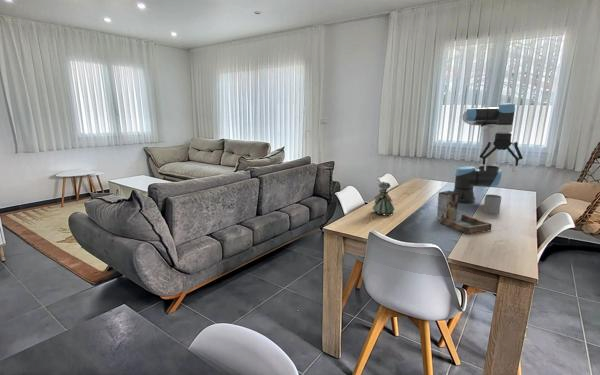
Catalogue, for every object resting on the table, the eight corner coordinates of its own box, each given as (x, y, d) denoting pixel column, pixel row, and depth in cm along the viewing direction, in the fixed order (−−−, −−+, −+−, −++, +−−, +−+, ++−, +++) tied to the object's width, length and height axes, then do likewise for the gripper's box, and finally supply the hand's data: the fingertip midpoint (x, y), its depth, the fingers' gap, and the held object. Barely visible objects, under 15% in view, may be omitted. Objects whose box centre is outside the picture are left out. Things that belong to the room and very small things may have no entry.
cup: (498, 210, 195) (500, 195, 193) (500, 214, 188) (502, 198, 185) (482, 209, 198) (484, 194, 196) (483, 213, 191) (485, 197, 189)
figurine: (365, 213, 195) (366, 181, 190) (377, 208, 205) (378, 178, 200) (387, 218, 185) (388, 185, 181) (398, 212, 195) (400, 181, 191)
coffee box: (447, 216, 186) (449, 190, 182) (456, 219, 181) (459, 192, 177) (436, 219, 182) (438, 192, 178) (445, 222, 176) (448, 194, 173)
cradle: (440, 223, 175) (440, 217, 174) (463, 219, 180) (463, 214, 179) (466, 234, 158) (467, 228, 158) (490, 230, 163) (491, 224, 163)
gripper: (478, 133, 175) (474, 170, 180) (532, 133, 164) (526, 173, 169) (477, 132, 181) (473, 168, 186) (529, 132, 171) (524, 171, 176)
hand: (498, 171), depth 178 cm, fingers open, 13 cm apart
